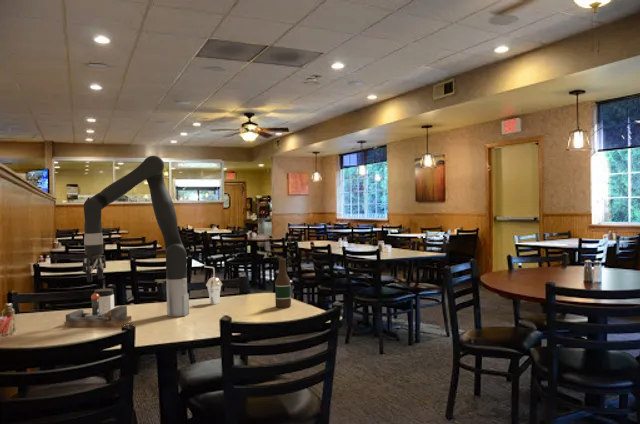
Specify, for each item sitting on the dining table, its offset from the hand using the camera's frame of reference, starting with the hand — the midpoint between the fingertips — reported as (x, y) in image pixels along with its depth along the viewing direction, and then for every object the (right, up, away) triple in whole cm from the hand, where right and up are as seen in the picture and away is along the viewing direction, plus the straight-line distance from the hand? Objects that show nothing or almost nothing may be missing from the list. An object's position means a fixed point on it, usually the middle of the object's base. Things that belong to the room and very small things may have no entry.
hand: (95, 280), depth 213 cm
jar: (-4, -19, +18) cm, 26 cm away
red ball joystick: (+1, -17, 0) cm, 17 cm away
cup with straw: (+44, -18, +40) cm, 62 cm away
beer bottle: (+81, -17, +29) cm, 87 cm away
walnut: (+8, -17, 0) cm, 18 cm away
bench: (+2, -19, 0) cm, 19 cm away
